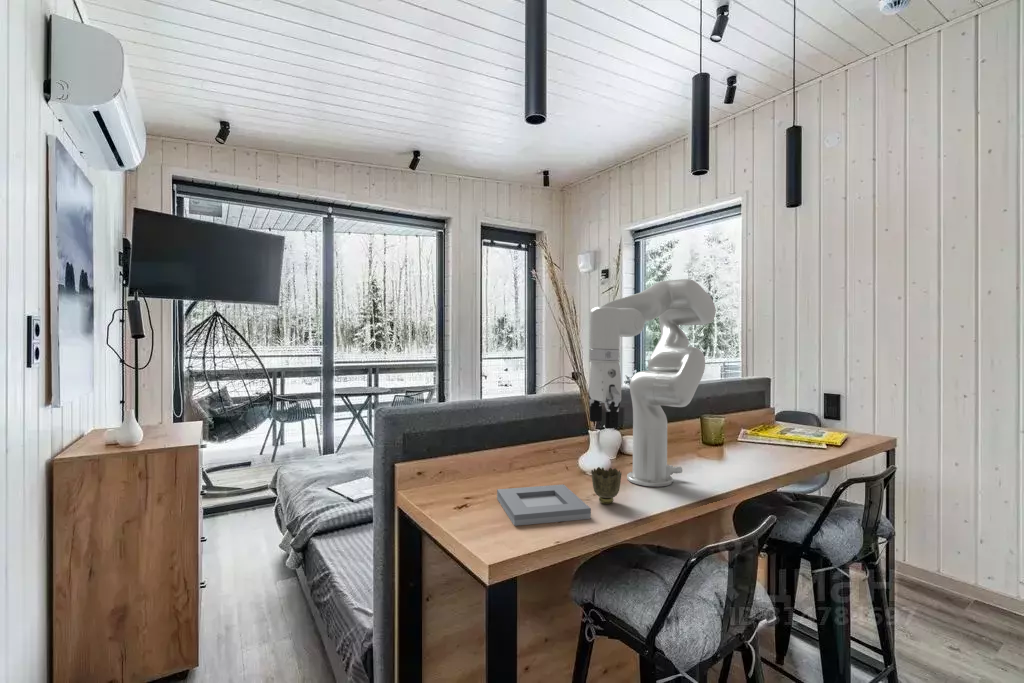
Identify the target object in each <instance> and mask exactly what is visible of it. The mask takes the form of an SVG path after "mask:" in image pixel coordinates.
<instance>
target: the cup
mask: <svg viewBox="0 0 1024 683" xmlns="http://www.w3.org/2000/svg"><path fill="white" fill-rule="evenodd" d="M590 472H591V482H592V487H593V491H594V493H595V494H596V495H597V496H598V502H600V503H601V504H603V505H611V504H613V503H614V500H615V499H614V498H615V497H617V495H618V494H619V492H620V487H621V479H622V472H621V470H618V469H617V468H613V469H612V467H609V468H608V470H605V469H604V467H599V466H598V467H597V468H593V469H591V471H590Z"/></svg>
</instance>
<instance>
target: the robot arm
mask: <svg viewBox="0 0 1024 683" xmlns="http://www.w3.org/2000/svg"><path fill="white" fill-rule="evenodd" d="M714 302H715V301H714V300H713V299H712V297H711V296H710V295H709V293H708V292H707V291H706V290H705V289H704V288H703V287H702V286H701V285H700V284H699V283H698V282H696V281H695V280H693V279H689V278H684V279H669V280H661V281H658V282H656V283H654V284H653V285H651V286H649V287H647V288H646V289H644V290H642V291H640V292H637V293H635V294H630V295H628V296H625V297H622V298H618V299H614V300H611V301H610V302H607V303H604V304H603V305H601V306H595V307H593V308H592V309H590V313H589V341H588V342H589V344H588V345H589V346H588V347H589V348H588V350H589V352H588V353H589V354H588V359H589V360H588V362H590V370H589V381H588V382H589V385H588V393H589V396H588V398H589V402H588V404H589V419H588V420H589V422H591V423H592V422H593V423H594V422H596V423H597V422H600V423H601V422H602V421H603V419H602V418H603V417H602V416H603V415H602V414H603V406H602V404H603V403H604V407H605V411H604V428H605V429H618V427H619V425H618V424H619V411H620V405H621V404H620V403H621V401H622V376H621V367H620V360H621V359H620V357H621V356H620V354H621V350H620V349H621V338H622V337H623V338H624V337H625V338H631V337H636V336H638V335H640V333H642V332H643V330H644V328H645V325H646V324H645V323H646V322H650V321H653V320H655V319H657V318H658V323H659V328H660V338H659V340H658V342H657V344H656V345H655V347H654V349H653V351H652V353H651V354H650V357H649V359H648V362H647V368H648V370H641V371H637V372H636V373H634V374H633V375H632V376H631V378H630V381H629V392H630V398H631V403H632V404H631V406H632V471H630V472H627V475H626V479H627V480H628V481H629V482H631V483H633V484H635V485H638V486H639V485H640V486H643V487H644V486H645V487H650V488H651V487H656V488H657V487H659V488H660V487H667V486H670V485H672V483H673V477H672V475H673V474H682V473H683V467H682V466H681V465H679V466H673V464H672V465H671V464H670V465H669V464H668V418H667V415H666V413H665V412H664V410H663V408H662V407H663V406H665V407H673V408H685V407H687V406H688V405H690V403H691V401H692V400H693V397H694V396H695V393H696V391H697V389H698V387H699V385H700V382H701V380H702V378H703V377H704V373H705V371H706V370H705V369H706V358H705V355H704V352H703V351H702V350H701V349H700V348H697V347H695V346H689V344H690V343H689V342H690V341H689V339H688V337H687V335H686V334H685V332H684V331H683V330H682V329H681V327H680V326H703V325H704V326H705V325H709V324H710V323H712V322H713V321H714V319H715V317H716V306H715V303H714Z"/></svg>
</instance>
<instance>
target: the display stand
mask: <svg viewBox="0 0 1024 683" xmlns="http://www.w3.org/2000/svg"><path fill="white" fill-rule="evenodd" d="M496 499H497V501H498V503H499V504H500V506H501V507H502V509H503V510H504V512H505V513H506V515H507V516H508V518H509V520H510V521H511V523H512V525H513V526H514V527H516V526H517V527H518V526H527V525H538V524H549V523H550V524H551V523H559V522H560V523H561V522H570V521H579V520H591V518H592V517H591V516H592V514H591V513H592V512H591V511H592V507H590V506H589V505H588V504H586V502H585V501H583V500H582V499H581V498H580V497H579V496H578V495H577V494H575V493H574V492H573V491H572V490H571V489H569V488H568V487H567V486H566V485H565V484H551V485H539V486H538V485H537V486H527V487H526V486H524V487H513V488H498V489H496Z"/></svg>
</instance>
